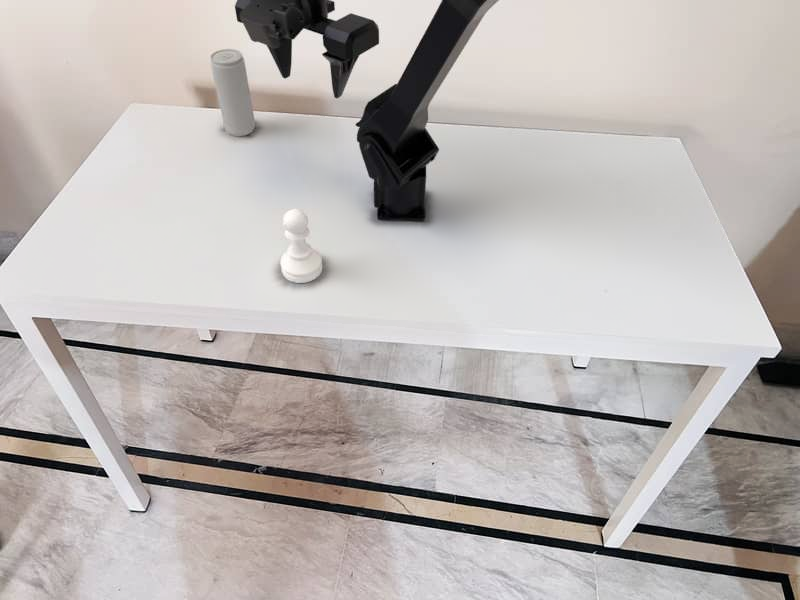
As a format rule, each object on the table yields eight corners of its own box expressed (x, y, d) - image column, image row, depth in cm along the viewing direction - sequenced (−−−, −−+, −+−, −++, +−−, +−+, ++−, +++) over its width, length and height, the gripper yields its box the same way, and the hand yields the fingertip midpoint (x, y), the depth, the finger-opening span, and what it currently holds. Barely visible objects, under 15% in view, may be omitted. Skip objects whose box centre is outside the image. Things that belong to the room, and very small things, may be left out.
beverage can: (218, 131, 96) (202, 57, 87) (240, 118, 99) (226, 45, 90) (241, 141, 94) (226, 66, 86) (262, 127, 97) (250, 54, 88)
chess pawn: (329, 273, 75) (324, 216, 68) (293, 289, 73) (283, 232, 66) (311, 250, 77) (304, 193, 71) (275, 265, 76) (264, 207, 69)
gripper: (187, -41, 68) (216, 90, 79) (314, -2, 61) (326, 136, 72) (258, -66, 74) (276, 59, 86) (381, -33, 67) (382, 98, 78)
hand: (311, 86), depth 80 cm, fingers open, 9 cm apart
